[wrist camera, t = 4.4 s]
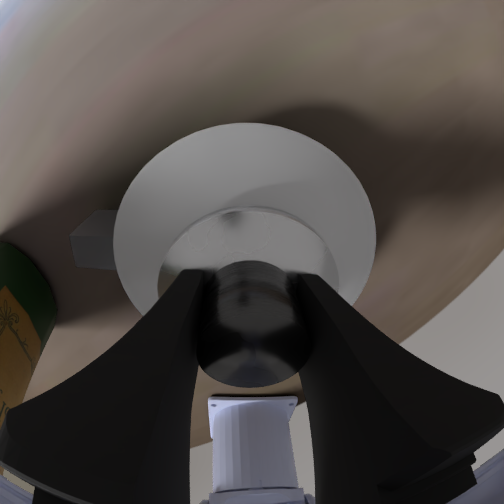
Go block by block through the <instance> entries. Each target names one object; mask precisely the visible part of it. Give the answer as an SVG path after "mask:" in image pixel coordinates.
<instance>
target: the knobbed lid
mask: <svg viewBox="0 0 504 504" xmlns="http://www.w3.org/2000/svg"><path fill="white" fill-rule="evenodd" d="M183 269H188V270H203V299H202V306H201V314H200V322H199V330H198V339H197V348H196V357H197V361H198V363H199V365H200V367H201V368H202V370H203V371H204V372H205V373H206V374H208V375H209V376H210V377H212V378H213V379H215V380H217V381H219V382H221V383H224V384H227V385H231V386H236V387H246V388H253V387H264V386H269V385H273V384H276V383H279V382H282V381H284V380H286V379H288V378H290V377H291V376H293V375H294V374H296V373H297V372H298V371H299V370H300V369H302V367H303V366H304V365H305V364H306V362H307V361H308V359H309V356H310V353H311V342H310V338H309V335H308V331H307V328H306V325H305V321H304V318H303V314H302V311H301V308H300V304H299V301H298V298H297V295H296V288H297V284H298V279H299V274H316V275H319V276H320V277H321V278H322V279H323V280H324V281H326V282H327V283H328V284H329V285H330V286H331V287H332V288H333V289H334V290H335V291H336V292H337V293H338V290H339V274H338V269H337V265H336V262H335V260H334V258H333V255H332V253H331V252H330V250H329V248H328V247H327V245H326V244H325V242H324V240H323V239H322V237H321V236H320V235H319V234H318V233H317V232H316V230H315V229H314V228H313V227H311V226H310V225H309V224H308V223H306V222H305V221H304V220H302V219H300V218H299V217H297V216H295V215H293V214H291V213H289V212H286V211H284V210H281V209H277V208H273V207H269V206H261V205H239V206H231V207H227V208H223V209H219V210H216V211H213V212H211V213H209V214H206V215H204V216H202V217H201V218H199V219H197V220H195V221H194V222H192V223H191V224H190V225H189V226H187V227H186V228H185V229H184V230H183V231H182V232H181V233H180V234H179V235H178V236H177V237H176V238H175V240H174V241H173V243H172V244H171V245H170V247H169V249H168V251H167V253H166V255H165V258H164V260H163V263H162V265H161V268H160V272H159V275H158V283H157V291H158V299H159V298H160V297H161V296H162V295H163V294H164V292H165V291H166V290H167V289H168V287H169V286H170V285H171V284H172V282H173V281H174V280H175V279H176V277H177V276H178V275H179V273H180V272H181V271H182V270H183Z"/></svg>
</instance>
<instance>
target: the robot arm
mask: <svg viewBox="0 0 504 504" xmlns="http://www.w3.org/2000/svg"><path fill="white" fill-rule="evenodd" d="M296 295H297V298H298V301H299V304H300V308H301V311H302V314H303V318H304V321H305V325H306V328H307V331H308V335H309V338H310V342H311V353H310V356H309V359H308V361H307V362H306V364H305V365H304V366H303V367H302V369H300V370H299V371H298V372H299V376H300V380H301V383H302V387H303V391H304V395H305V399H306V403H307V408H308V413H309V421H310V429H311V437H312V447H313V458H314V472H315V497H313V496H312V495H311V494H304V491H303V488H298V481H297V474H296V468H295V461H294V456H293V449H292V443H291V436H290V429H289V423H288V422H289V420H290V418H291V416H292V413H293V411H294V409H295V407H296V404H297V402H298V398H297V397H296V396H283V397H210V398H208V408H209V421H210V432H211V438H213V493H210V494H209V500H203V501H202V502H201V503H200V504H504V449H503V450H501V451H500V452H499V453H497V454H496V455H495V456H493V457H492V458H491V459H489V460H488V461H486V462H485V463H484V464H482V465H481V466H480V467H479V468H477V469H476V470H475V471H473V470H472V467H471V465H472V464H473V463H475V462H476V458H475V455H474V453H473V452H475V451H476V450H477V449H479V448H480V447H481V446H482V445H484V444H485V443H487V442H488V441H489V440H490V439H492V438H493V437H494V436H495V435H496V434H498V433H499V432H500V431H501V430H502V429H503V428H504V403H503V401H502V399H501V398H500V396H499V395H498V394H495V393H493V392H490V391H487V390H484V389H481V388H478V387H476V386H473V385H470V384H468V383H465V382H463V381H461V380H458V379H457V378H454V377H452V376H450V375H448V374H446V373H444V372H442V371H440V370H438V369H437V368H435V367H433V366H431V365H429V364H428V363H426V362H424V361H422V360H421V359H419V358H417V357H416V356H414V355H413V354H411V353H410V352H408V351H407V350H405V349H404V348H403V347H401V346H400V345H398V344H397V343H396V342H394V341H393V340H391V339H390V338H389V337H387V336H386V335H385V334H383V333H382V332H381V331H380V330H379V329H377V328H376V327H375V326H374V325H373V324H371V323H370V322H369V321H368V320H367V319H365V318H364V317H363V316H362V315H361V314H360V313H359V312H357V311H356V310H355V309H354V308H353V307H352V306H351V305H350V304H349V303H348V302H347V301H346V300H344V299H343V298H342V297H341V296H340V295H339V294H338V293H337V292H336V291H335V290H334V289H333V288H332V287H331V286H330V285H329V284H328V283H327V282H326V281H324V280H323V279H322V278H321V277H320V276H319V275H316V274H299V279H298V284H297V288H296ZM202 299H203V270H188V269H183V270H182V271H181V272H180V273H179V275H178V276H177V277H176V279H175V280H174V281H173V282H172V284H171V285H170V286H169V287H168V289H167V290H166V291H165V292H164V294H163V295H162V296H161V297H160V298H159V299H158V301H157V302H156V303H155V304H154V305H153V306H152V308H151V309H150V310H149V311H148V312H147V313H146V314H145V315H144V316H143V317H142V318H141V319H140V320H139V321H138V322H137V323H136V324H135V326H134V327H133V328H132V329H130V330H129V331H128V332H127V333H126V334H125V335H124V336H123V337H122V338H121V339H120V340H119V341H117V342H116V343H115V344H114V345H113V346H112V347H111V348H109V349H108V350H107V351H106V352H104V353H103V354H102V355H101V356H99V357H98V358H97V359H96V360H94V361H93V362H91V363H90V364H89V365H87V366H86V367H85V368H83V369H82V370H81V371H79V372H78V373H76V374H75V375H73V376H71V377H70V378H68V379H67V380H65V381H64V382H62V383H60V384H59V385H57V386H55V387H53V388H52V389H50V390H48V391H46V392H44V393H43V394H41V395H39V396H37V397H35V398H33V399H30V400H28V401H26V402H24V403H22V404H20V405H18V406H16V407H13V408H11V409H9V410H8V411H7V413H6V415H5V418H4V421H3V423H2V426H1V428H0V466H1V467H3V468H4V469H6V470H7V471H9V472H10V473H12V474H14V475H15V476H17V477H19V478H20V479H22V480H24V481H25V482H27V483H29V484H31V485H32V486H35V490H34V495H33V494H31V493H30V492H28V491H26V490H24V489H22V488H20V487H19V486H17V485H15V484H13V483H12V482H10V481H9V480H7V478H5V477H4V476H2V475H1V474H0V504H190V482H189V481H190V480H189V477H190V476H189V462H190V426H191V410H192V401H193V395H194V389H195V383H196V377H197V372H198V366H199V363H198V361H197V357H196V348H197V339H198V330H199V322H200V314H201V306H202Z"/></svg>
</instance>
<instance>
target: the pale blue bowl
mask: <svg viewBox="0 0 504 504" xmlns="http://www.w3.org/2000/svg"><path fill="white" fill-rule="evenodd" d="M239 205H261V206H269V207H273V208H277V209H281V210H284V211H286V212H289V213H291V214H293V215H295V216H297V217H299V218H300V219H302V220H304V221H305V222H306V223H308V224H309V225H310V226H311V227H313V228H314V229H315V230H316V232H317V233H318V234H319V235H320V236H321V237H322V239H323V240H324V242H325V244H326V245H327V247H328V248H329V250H330V252H331V253H332V255H333V258H334V260H335V262H336V265H337V269H338V274H339V290H338V294H339V295H340V296H341V297H342V298H343V299H344V300H346V301H347V302H348V303H349V304H350V305H351V306H352V305H353V304H354V302H355V301H356V300H357V298H358V297H359V295H360V293H361V292H362V290H363V288H364V286H365V284H366V282H367V279H368V277H369V275H370V272H371V269H372V265H373V261H374V257H375V248H376V226H375V221H374V215H373V211H372V208H371V205H370V202H369V199H368V196H367V194H366V192H365V191H364V189H363V187H362V185H361V183H360V181H359V180H358V179H357V177H356V176H355V175H354V173H353V172H352V171H351V169H350V168H349V167H348V166H347V165H346V164H345V163H344V162H343V161H342V160H341V159H340V158H339V157H338V156H337V155H336V154H335V153H333V152H332V151H331V150H329V149H328V148H326V147H325V146H324V145H322V144H321V143H319V142H317V141H315V140H313V139H311V138H309V137H307V136H305V135H303V134H301V133H298V132H296V131H293V130H290V129H286V128H283V127H280V126H275V125H269V124H263V123H230V124H223V125H217V126H213V127H210V128H206V129H203V130H200V131H197V132H194V133H192V134H190V135H188V136H186V137H184V138H181V139H179V140H178V141H176V142H174V143H173V144H171V145H170V146H168V147H167V148H165V149H164V150H162V151H161V152H160V153H158V154H157V155H156V156H155V157H154V158H153V159H152V160H151V161H149V162H148V163H147V164H146V165H145V166H144V167H143V168H142V170H141V171H140V172H139V173H138V175H137V176H136V177H135V178H134V180H133V181H132V183H131V184H130V186H129V188H128V190H127V191H126V193H125V195H124V197H123V199H122V202H121V205H120V207H119V210H95V211H94V212H93V213H92V214H91V215H90V216H89V217H88V218H87V219H85V220H84V221H83V222H82V223H81V224H80V225H79V226H78V227H77V228H76V229H75V230H74V231H73V232H72V233H71V234H70V235H69V238H70V243H71V248H72V252H73V257H74V261H75V265H76V267H81V268H93V269H106V270H117V272H118V275H119V278H120V280H121V283H122V285H123V288H124V290H125V292H126V293H127V295H128V297H129V299H130V300H131V302H132V303H133V304H134V306H135V307H136V308H137V310H138V311H139V312H140V313H141V314H142V315H143V316H144V315H145V314H146V313H147V312H148V311H149V310H150V309H151V308H152V306H153V305H154V304H155V303H156V302H157V301H158V291H157V283H158V275H159V272H160V268H161V265H162V263H163V260H164V258H165V255H166V253H167V251H168V249H169V247H170V245H171V244H172V243H173V241H174V240H175V238H176V237H177V236H178V235H179V234H180V233H181V232H182V231H183V230H184V229H185V228H186V227H187V226H189V225H190V224H191V223H192V222H194V221H195V220H197V219H199V218H201V217H202V216H204V215H206V214H209V213H211V212H213V211H216V210H219V209H223V208H227V207H231V206H239Z"/></svg>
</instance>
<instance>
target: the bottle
mask: <svg viewBox="0 0 504 504" xmlns="http://www.w3.org/2000/svg"><path fill="white" fill-rule="evenodd" d="M56 315H57V308H56V305H55V302H54V299H53V297H52V294H51V291H50V288H49V285H48V283H47V282H46V281H45V280H44V278H43V277H42V276H41V274H40V273H39V271H38V270H37V269H36V267H35V266H34V264H33V263H32V262H31V260H30V259H29V258H28V257H26V256H25V255H23V254H22V253H21V252H19V251H18V250H17V249H15V248H14V247H13V246H11V245H10V244H9V243H0V428H1V426H2V423H3V421H4V418H5V415H6V413H7V411H8V410H9V409H11V408H13V407H16V406H18V405H20V404H22V401H23V399H24V396H25V393H26V390H27V388H28V385H29V382H30V380H31V377H32V375H33V372H34V370H35V368H36V365H37V363H38V361H39V358H40V356H41V354H42V352H43V349H44V347H45V345H46V343H47V341H48V339H49V337H50V335H51V333H52V330H53V328H54V326H55V320H56ZM3 471H4V468H3V467H1V466H0V474H1V475H2V476H3Z"/></svg>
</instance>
